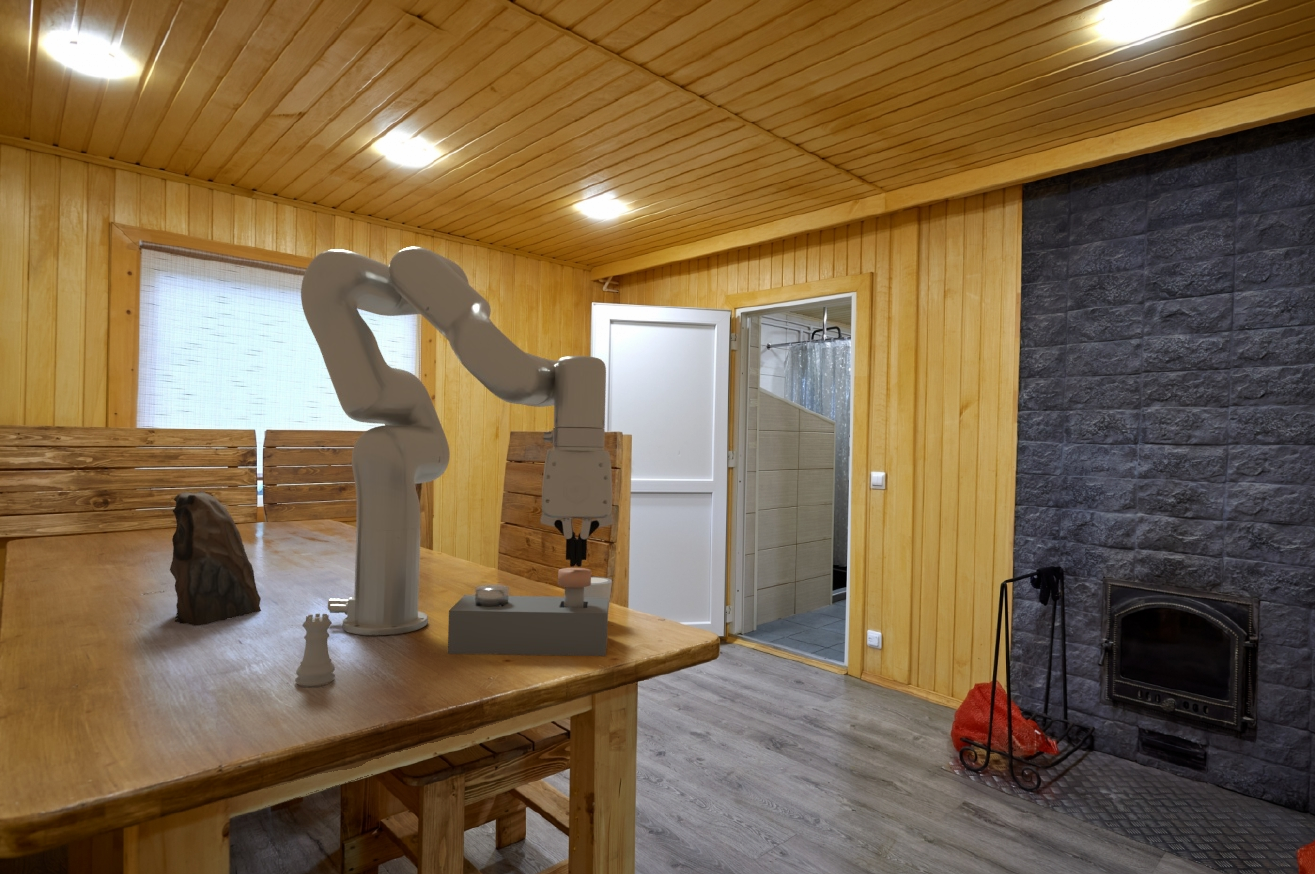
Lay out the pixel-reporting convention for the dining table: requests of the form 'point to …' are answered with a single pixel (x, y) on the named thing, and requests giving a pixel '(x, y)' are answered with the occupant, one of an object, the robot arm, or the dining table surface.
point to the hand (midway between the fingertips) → (576, 564)
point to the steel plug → (491, 595)
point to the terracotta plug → (574, 585)
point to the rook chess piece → (316, 654)
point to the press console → (529, 627)
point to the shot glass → (599, 588)
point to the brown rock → (210, 563)
